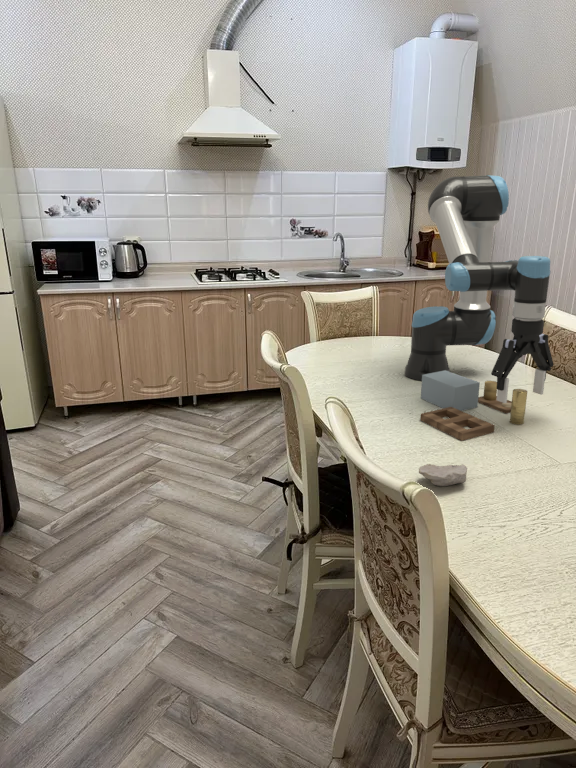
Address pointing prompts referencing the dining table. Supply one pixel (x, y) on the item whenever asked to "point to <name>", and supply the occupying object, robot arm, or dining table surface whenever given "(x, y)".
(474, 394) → the housing
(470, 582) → the dining table surface
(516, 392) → the peg
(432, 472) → the fossil
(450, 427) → the board
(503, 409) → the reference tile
